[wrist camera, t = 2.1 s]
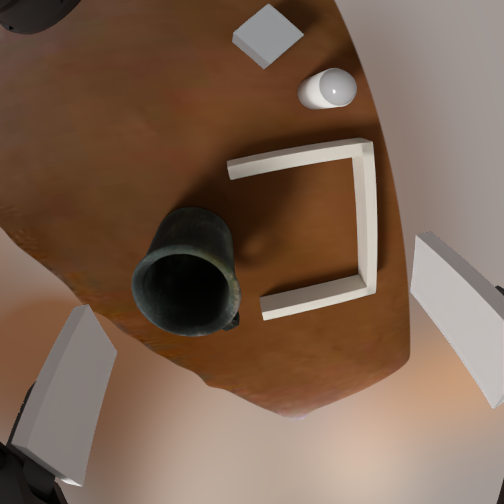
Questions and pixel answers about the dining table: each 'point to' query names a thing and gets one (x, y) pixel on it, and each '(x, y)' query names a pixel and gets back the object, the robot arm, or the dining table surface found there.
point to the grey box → (266, 36)
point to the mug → (189, 275)
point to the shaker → (327, 89)
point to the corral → (366, 221)
